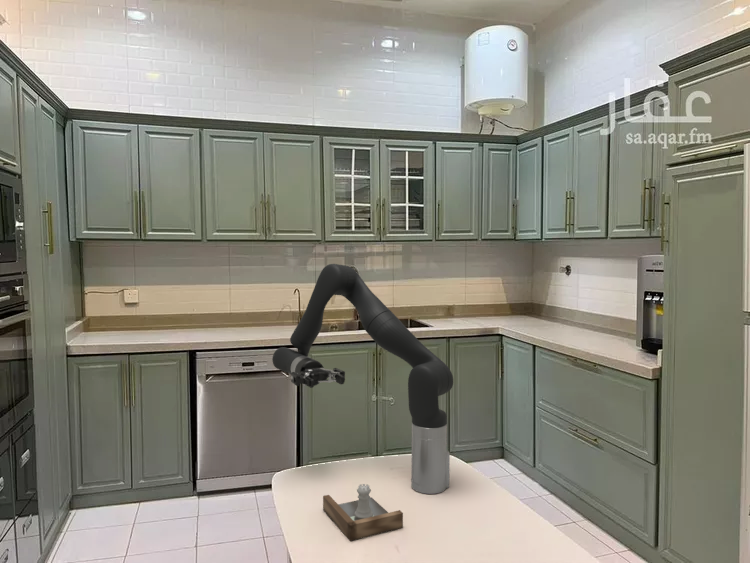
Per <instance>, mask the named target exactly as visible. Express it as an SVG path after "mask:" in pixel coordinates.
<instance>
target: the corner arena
mask: <svg viewBox="0 0 750 563" xmlns="http://www.w3.org/2000/svg"><path fill="white" fill-rule="evenodd" d="M358 502H359V499H357V500H352V501H348V502H344V503H337V501H336V500H334V498H332V496H331V495H329V494H326V495H323V496H322V510H323V512H324V513H325V514H326V516H327V517H329V518H330V520H331V521H332V522H333V524H334V525H335V526H336V527H337V529H339V530H340V532H342V534H343V535H344V536H345V537H346V538H347V539H348V541H349V542H353V541H354V542H355V541H358V540H361V539H365V538H370V537H373V536H378V535H380V534H386V533H390V532H392V531H396V530H397V531H398V530H401V529H403V528H404V512H402V510H400V509H399V510H395V511H390V512H388V510H387V509H385V508H384V507H383V506H382V505H381V504H379V502H378V501H376V500H375V499H374V498H373V497H371V496H370V498H369V504H370V508H371V511H372V512H373V517H369V518H364V519H360V520H356V521H355V520H354V517H355V512H356V509H357V508H358Z"/></svg>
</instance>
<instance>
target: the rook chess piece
mask: <svg viewBox="0 0 750 563" xmlns="http://www.w3.org/2000/svg"><path fill="white" fill-rule="evenodd" d="M371 491H372V489H371V487H370V485H369V484H365V483H362V484H359V485H358V488H357V489H356V492H357V493H358V496H357V498H358V500H359V502H358V508H357V509H356V512H355V517H354V520H355V521H356V520H360V519H364V518H369V517H373V512H372V511H371V508H370V504H369V498H370V497H371V496H370V493H371Z"/></svg>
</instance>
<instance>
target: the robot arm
mask: <svg viewBox="0 0 750 563" xmlns="http://www.w3.org/2000/svg"><path fill="white" fill-rule="evenodd" d="M334 296H342V297H344V298H345V299H346V300H347V301H349V302H350V303H351V305H352V306H353V307H354V308H355V309H356V310H357V313H358V314H359V319H360V322H361V325H362V327H363V330H364V331H365V332H366V333H367V335H369V337H370V338H371V339H372V340H373V341H374V342H375V344H377V345H378V346H379V347H381V348H382V349H383V350H385V351H386V352H389V353H390V354H392V355H394V356H396V357H398V358H399V359H401V360H403V361H404V362H406V363H407V364H408V365H409V366H411V370H410V371H409V374H408V378H407V380H408V381H407V390H408V391H407V393H408V395H407V396H408V410H409V414H410V416H411V473H410V474H411V479H410V480H411V488H412V489H413V490H414V491H416V492H418V493H421V494H428V495H429V494H430V495H431V494H439V493H442V492H444V491H445V490H446V489H448V488H450V468H451V467H450V465H451V464H450V462H451V461H450V460H451V456H450V455H451V453H450V452H449V450H447V448H448V447H447V446H448V445H447V441H448V440H447V438H448V436H447V435H448V434H447V429H448V428H447V426H448V415H447V412H445V411H444V410H442V409H441V408H440V407H439V397H440V396H442V395H445V394H446V393H448V392H450V391H451V390H452V388H453V387H454V386H453V385H454V376H453V373H452V371H451V369H450V367H449V366H448V365H447V364H446V363H445V362H444V361H443V360H441V358H439V357H438V356H437V355H436V354H434V352H432V351H431V350H430V349H429V348H427V347H426V346H425V345H424V344H423V343H422V342H421V341H420V340H419V339H418V338H417V337H416V336H415V335H414V334H413V332H412V331H410V330H409V328H408V327H406V325H405V324H404V323H403V322H402V321H401V320H400V319H399V318H398V317H397V316H396V315H395V314H394V313H393V312H392V310H391V309H389V307H388V306H387V305H385V304H384V303H383V302H382V300H381V299H379V297H378V296H377V295H376V294H374V292H373V291H372V290H371V289H370V288H369V287H368V285H367V284H366V283H365V281H364V280H363V279H362V277H361V276H360V275H359V273H358V272H357V271H356V270H355V269H354V268H353V267H352V266H349V265H344V264H338V263H329V264H327V265H325V266H324V267H323V268H322V269H321V272H320V273H319V275H318V277H317V280H316V282H315V285H314V288H313V290H312V293H311V296H310V298H309V301H308V303H307V306H306V308H305V311H304V313H303V315H302V317H301V318H300V320H299V322H298V323H297V325H296V327H295V329H294V330H293V332H292V334H291V336H290V339H289V341H290V344H291V345H292V346H293V347H294V348H296V349H297V350H294V349H292V348H289V347H285V346H284V347H283V346H282V347H278V348H277V349H276V350H275V351H274V353H273V354H272V360H271V361H272V365H273V366H274V368H276V369H277V370H280V371H282V372H285V373H288V374H289V375H290V381H291V383H292V384H294V385H295V386H297V387H299V386H301V384H302V386H304V387H305V386H306V387H308V388H311V389H313V388H314V387H315V386H317V385H319V384H321V383H329V384H331V383H333V382H335V383H336V384H339V385H344V384H345V382H346V371H345V370H342V369H340V368H337V367H334V368H332V369H328V368H327V369H326V368H324V366H323V364H322V363H321V362H320V361H318V360H316V359H314V358H312V357H310V356H309V354H310V351H311V348H312V345H313V344H314V343H315V340H316V339H317V338H318V336H319V334H320V332H321V329H322V327H323V322H324V320H323V319H324V312H325V308H326V306H327V305H328V304H329V303H328V302H330V300H331V299H332V298H333V297H334Z"/></svg>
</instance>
